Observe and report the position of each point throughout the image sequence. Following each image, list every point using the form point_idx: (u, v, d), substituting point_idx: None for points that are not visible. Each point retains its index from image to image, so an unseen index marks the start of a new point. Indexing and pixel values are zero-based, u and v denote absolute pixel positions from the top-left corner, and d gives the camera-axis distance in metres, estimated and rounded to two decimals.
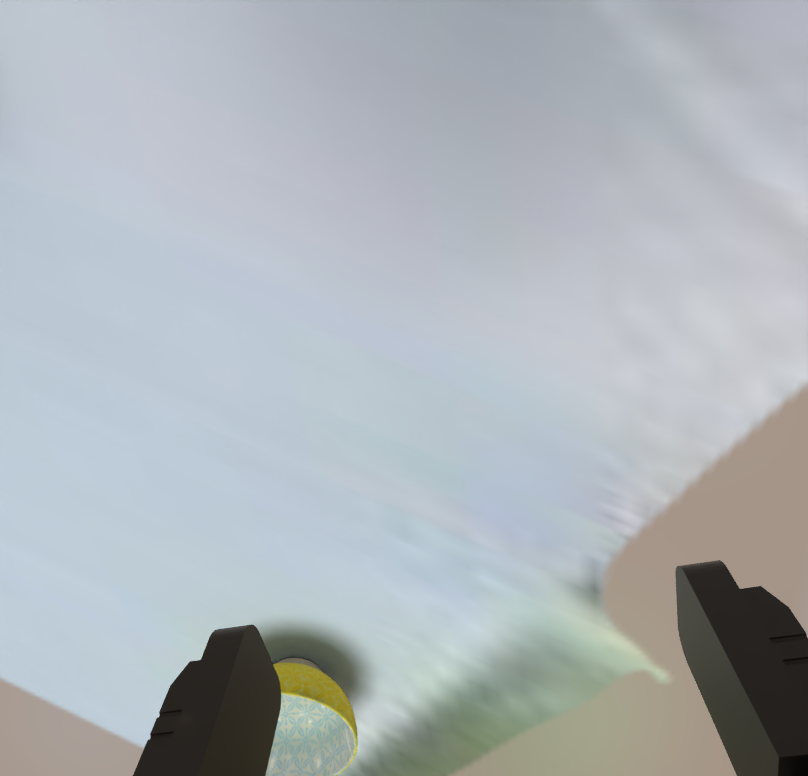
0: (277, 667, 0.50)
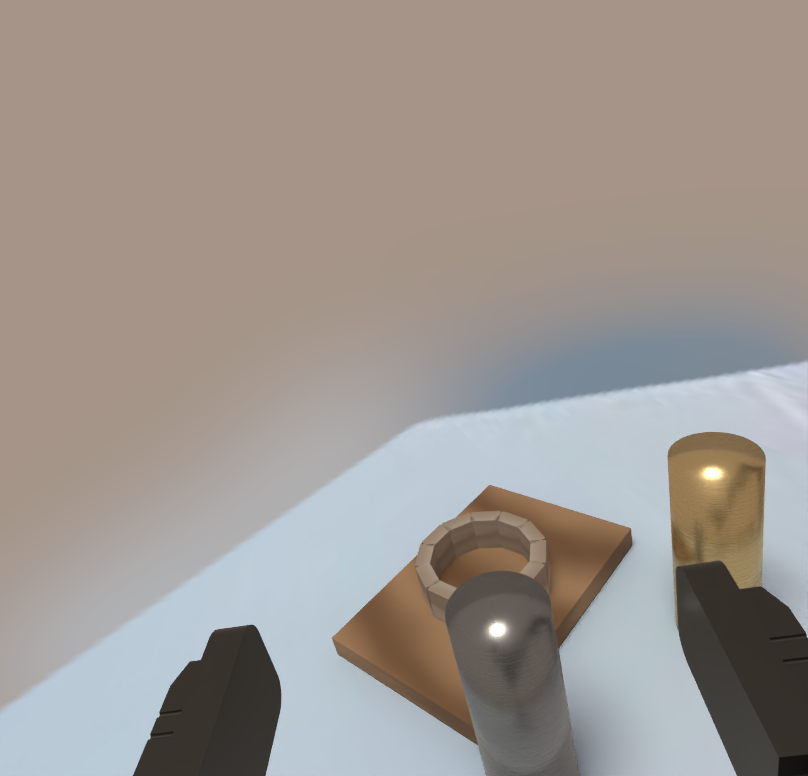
0: None
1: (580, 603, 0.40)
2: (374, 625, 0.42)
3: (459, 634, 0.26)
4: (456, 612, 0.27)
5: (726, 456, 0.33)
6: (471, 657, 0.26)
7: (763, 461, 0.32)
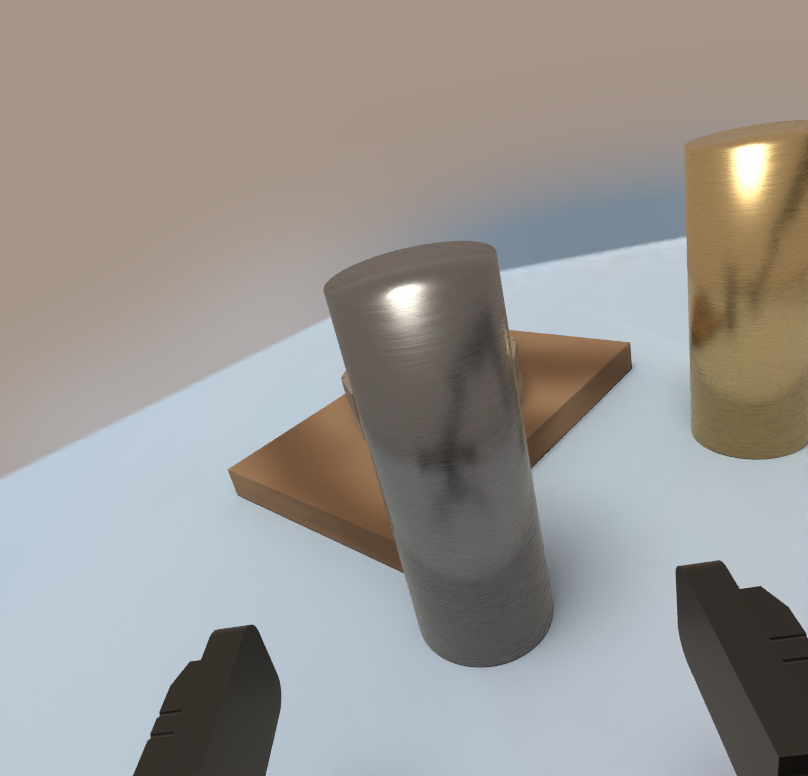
0: None
1: (561, 416, 0.30)
2: (285, 454, 0.31)
3: (341, 294, 0.16)
4: (344, 280, 0.17)
5: (772, 132, 0.22)
6: (358, 322, 0.15)
7: None
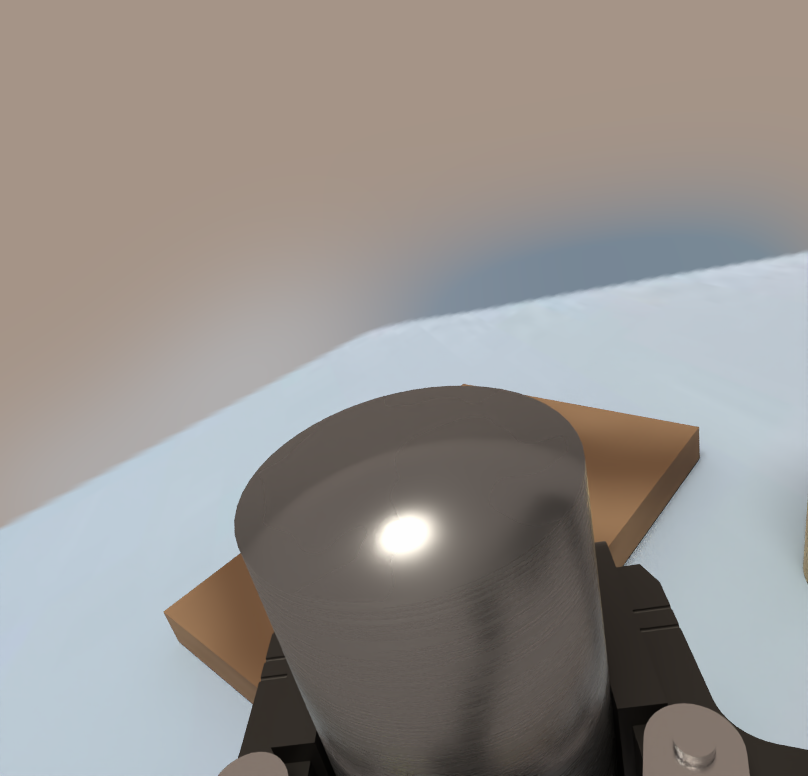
0: None
1: (617, 547, 0.22)
2: (242, 590, 0.23)
3: (262, 544, 0.08)
4: (278, 486, 0.09)
5: None
6: (296, 623, 0.07)
7: None
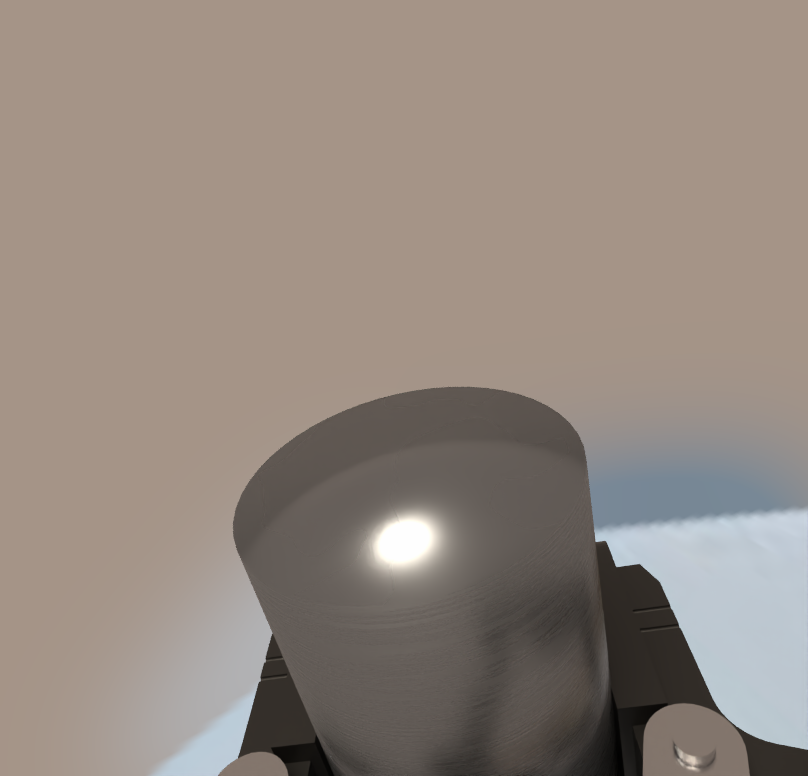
0: None
1: None
2: None
3: (262, 548, 0.07)
4: (278, 487, 0.09)
5: None
6: (295, 628, 0.07)
7: None
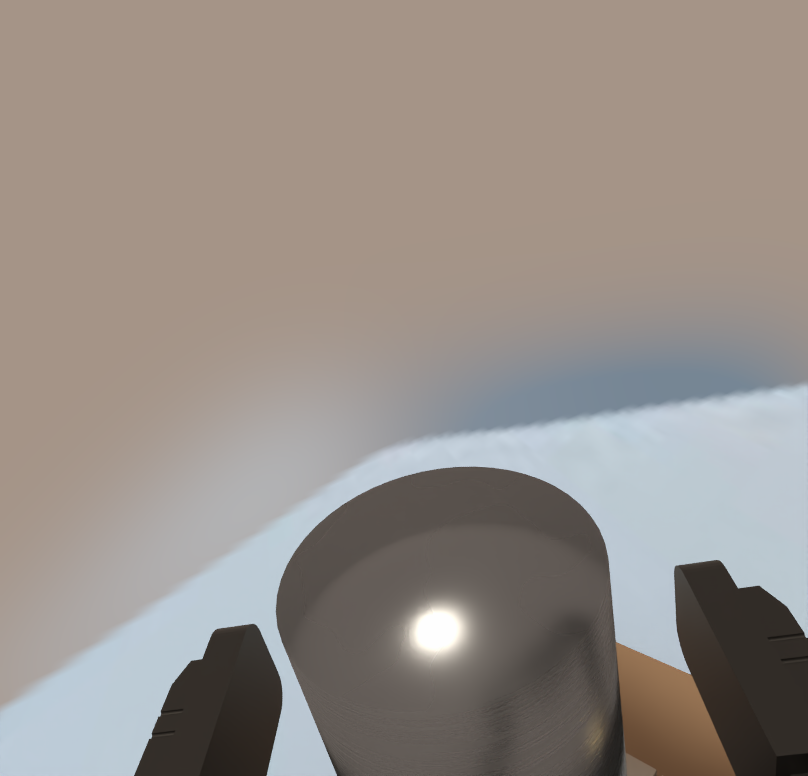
0: None
1: None
2: None
3: (306, 642, 0.08)
4: (315, 574, 0.09)
5: None
6: (339, 721, 0.07)
7: None
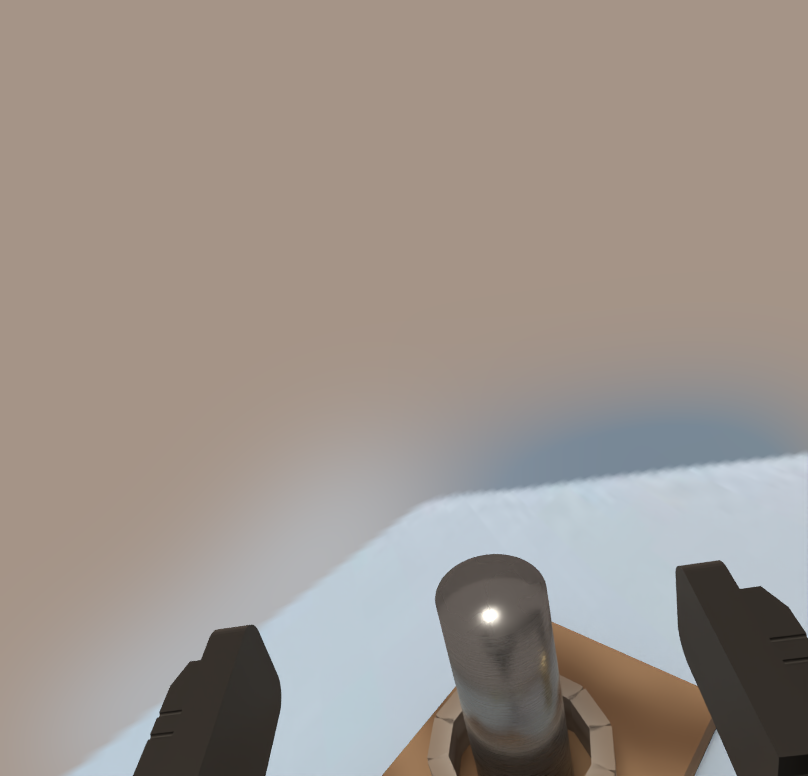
0: None
1: None
2: None
3: (450, 618, 0.25)
4: (447, 596, 0.26)
5: None
6: (463, 642, 0.25)
7: None
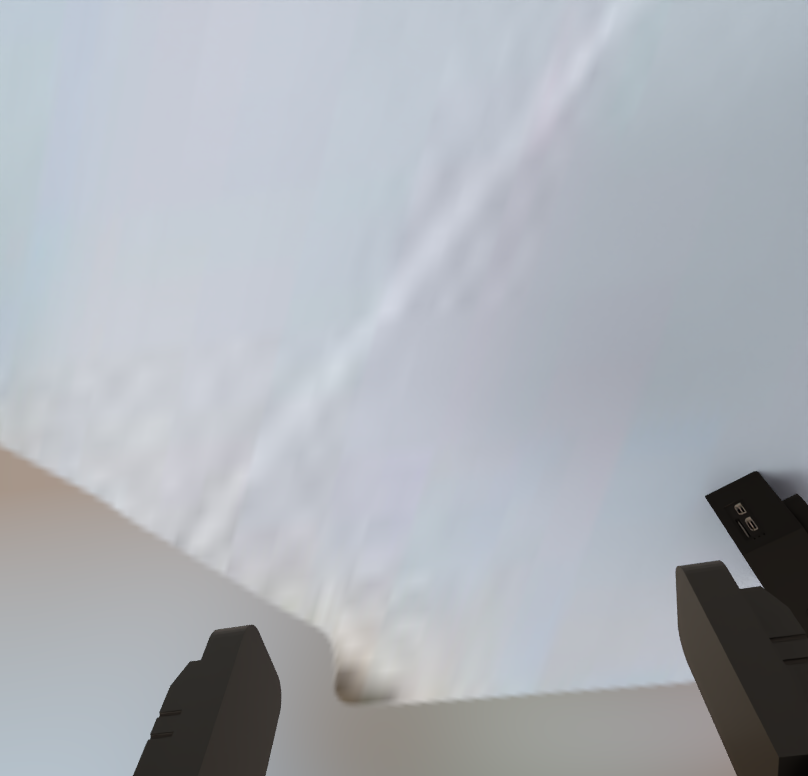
0: None
1: None
2: None
3: None
4: None
5: None
6: None
7: None
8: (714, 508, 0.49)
